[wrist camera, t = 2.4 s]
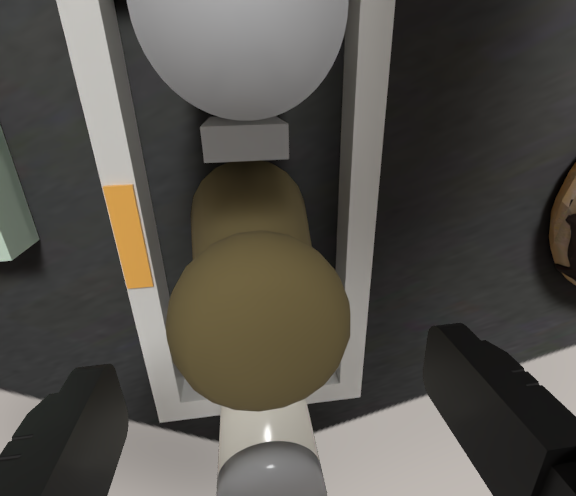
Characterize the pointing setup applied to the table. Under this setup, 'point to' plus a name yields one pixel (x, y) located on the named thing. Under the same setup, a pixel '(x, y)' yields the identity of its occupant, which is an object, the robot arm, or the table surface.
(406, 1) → the table surface
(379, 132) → the white rectangular frame
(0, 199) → the tray
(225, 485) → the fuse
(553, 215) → the donut
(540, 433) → the robot arm
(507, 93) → the table surface
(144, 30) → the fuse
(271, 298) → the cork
